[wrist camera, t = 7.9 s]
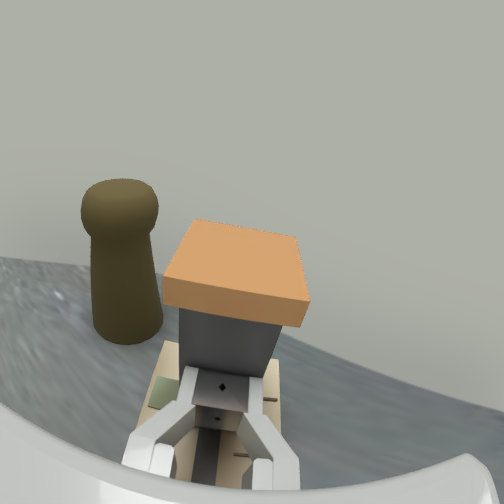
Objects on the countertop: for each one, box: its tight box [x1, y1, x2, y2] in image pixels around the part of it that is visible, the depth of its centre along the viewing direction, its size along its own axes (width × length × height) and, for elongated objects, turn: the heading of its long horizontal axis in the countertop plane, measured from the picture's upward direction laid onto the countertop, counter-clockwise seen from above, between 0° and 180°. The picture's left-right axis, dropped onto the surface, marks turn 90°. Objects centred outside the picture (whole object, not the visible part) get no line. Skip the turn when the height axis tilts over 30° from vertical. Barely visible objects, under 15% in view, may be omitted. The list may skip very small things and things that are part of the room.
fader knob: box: [163, 219, 310, 433], centre depth 11 cm, size 4×4×10 cm
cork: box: [81, 179, 163, 345], centre depth 18 cm, size 6×6×11 cm
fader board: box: [136, 340, 281, 489], centre depth 12 cm, size 8×15×2 cm, turn 178°
